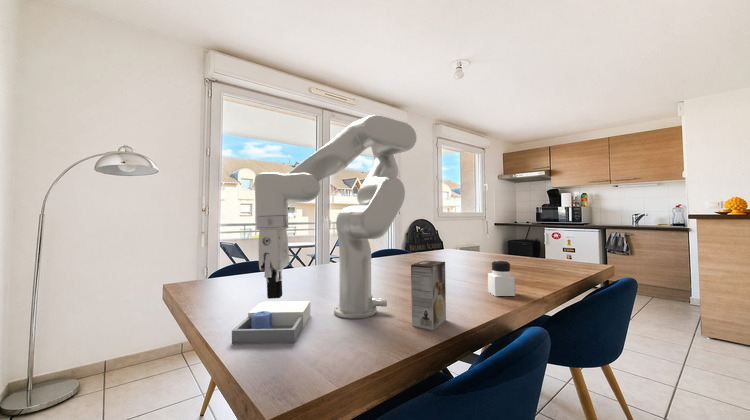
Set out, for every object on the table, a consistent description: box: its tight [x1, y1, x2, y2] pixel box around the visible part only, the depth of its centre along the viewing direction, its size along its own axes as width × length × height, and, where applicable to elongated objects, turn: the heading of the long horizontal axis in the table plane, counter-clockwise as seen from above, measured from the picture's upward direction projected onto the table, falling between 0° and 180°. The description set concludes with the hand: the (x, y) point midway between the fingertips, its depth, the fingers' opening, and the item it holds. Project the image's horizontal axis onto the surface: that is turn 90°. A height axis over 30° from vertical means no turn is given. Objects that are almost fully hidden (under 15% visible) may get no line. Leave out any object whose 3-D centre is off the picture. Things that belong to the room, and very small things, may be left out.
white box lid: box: [247, 300, 311, 328], centre depth 83 cm, size 14×10×4 cm
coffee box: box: [410, 259, 447, 331], centre depth 81 cm, size 9×6×16 cm
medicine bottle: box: [487, 260, 516, 297], centre depth 110 cm, size 7×7×12 cm
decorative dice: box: [251, 311, 272, 329], centre depth 75 cm, size 4×4×4 cm
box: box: [231, 316, 304, 345], centre depth 73 cm, size 14×9×3 cm, turn 92°
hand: (274, 297), depth 75 cm, fingers closed
